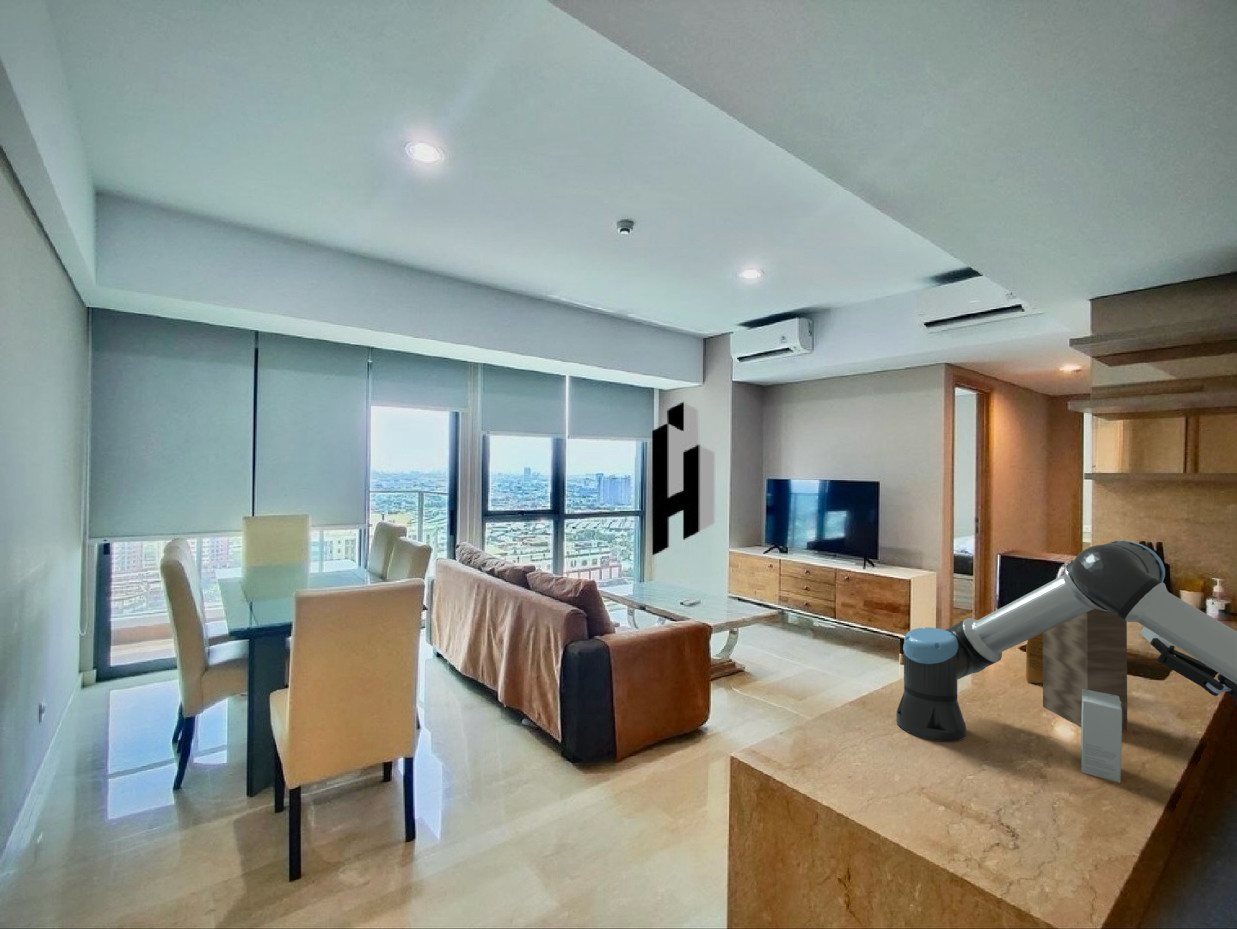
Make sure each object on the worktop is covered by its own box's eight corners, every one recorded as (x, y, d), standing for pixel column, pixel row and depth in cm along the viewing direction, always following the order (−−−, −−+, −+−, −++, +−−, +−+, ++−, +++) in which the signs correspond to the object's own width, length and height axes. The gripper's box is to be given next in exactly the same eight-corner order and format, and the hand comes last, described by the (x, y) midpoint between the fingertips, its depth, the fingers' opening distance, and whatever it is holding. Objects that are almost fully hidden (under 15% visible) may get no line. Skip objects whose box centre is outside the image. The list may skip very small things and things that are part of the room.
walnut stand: (1127, 730, 138) (1126, 608, 138) (1087, 730, 137) (1087, 608, 138) (1078, 706, 152) (1078, 595, 152) (1042, 706, 151) (1042, 595, 152)
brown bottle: (1072, 681, 170) (1072, 609, 170) (1061, 691, 162) (1061, 615, 162) (1032, 672, 177) (1032, 603, 178) (1020, 681, 170) (1020, 609, 170)
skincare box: (1081, 757, 124) (1080, 687, 125) (1120, 767, 120) (1120, 695, 120) (1081, 773, 118) (1080, 699, 118) (1123, 784, 114) (1122, 707, 114)
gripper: (1201, 727, 105) (1111, 641, 123) (1329, 725, 106) (1220, 640, 124) (1222, 700, 101) (1126, 616, 120) (1355, 698, 102) (1239, 615, 121)
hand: (1174, 628), depth 122 cm, fingers open, 13 cm apart
